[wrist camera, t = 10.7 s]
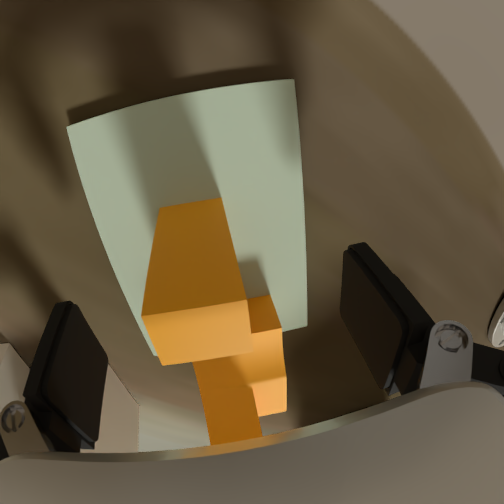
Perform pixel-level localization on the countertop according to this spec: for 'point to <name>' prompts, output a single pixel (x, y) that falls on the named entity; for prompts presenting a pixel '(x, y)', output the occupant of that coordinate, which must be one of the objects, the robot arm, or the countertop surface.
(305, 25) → the countertop surface
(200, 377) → the orange branched block
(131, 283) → the mat
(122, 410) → the hollow square frame
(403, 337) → the robot arm
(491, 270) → the countertop surface
